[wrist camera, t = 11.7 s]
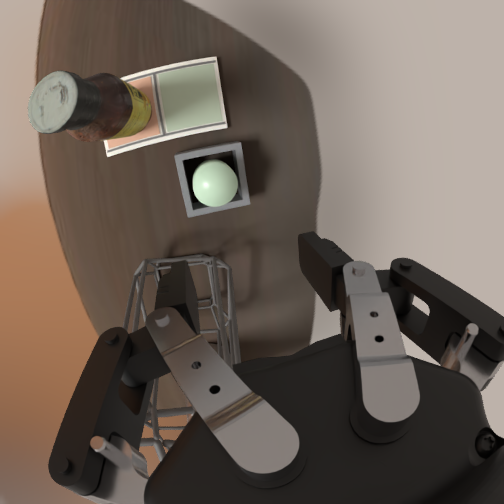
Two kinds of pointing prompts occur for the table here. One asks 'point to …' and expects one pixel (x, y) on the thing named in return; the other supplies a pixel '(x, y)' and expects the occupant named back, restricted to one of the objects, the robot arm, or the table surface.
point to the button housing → (236, 149)
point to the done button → (214, 183)
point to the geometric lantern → (221, 332)
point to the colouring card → (176, 103)
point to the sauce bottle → (88, 106)
